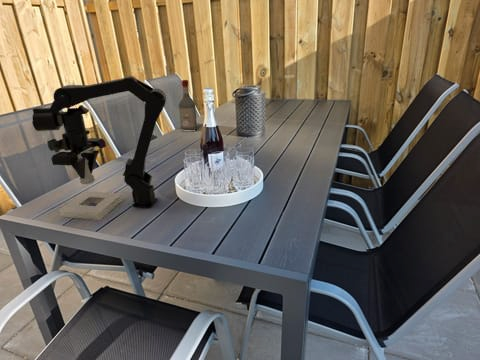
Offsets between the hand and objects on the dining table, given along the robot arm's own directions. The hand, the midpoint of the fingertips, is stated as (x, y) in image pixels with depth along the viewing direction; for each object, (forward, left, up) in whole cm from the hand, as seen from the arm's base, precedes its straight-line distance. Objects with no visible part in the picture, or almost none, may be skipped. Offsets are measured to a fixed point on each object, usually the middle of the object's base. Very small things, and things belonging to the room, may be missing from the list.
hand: (86, 175), depth 103 cm
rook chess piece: (0, 0, -2) cm, 2 cm away
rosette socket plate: (0, 0, -12) cm, 12 cm away
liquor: (+2, -102, -12) cm, 103 cm away
